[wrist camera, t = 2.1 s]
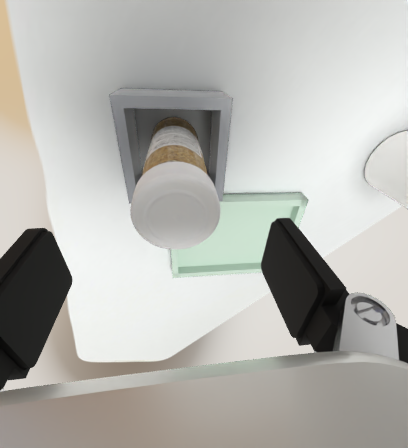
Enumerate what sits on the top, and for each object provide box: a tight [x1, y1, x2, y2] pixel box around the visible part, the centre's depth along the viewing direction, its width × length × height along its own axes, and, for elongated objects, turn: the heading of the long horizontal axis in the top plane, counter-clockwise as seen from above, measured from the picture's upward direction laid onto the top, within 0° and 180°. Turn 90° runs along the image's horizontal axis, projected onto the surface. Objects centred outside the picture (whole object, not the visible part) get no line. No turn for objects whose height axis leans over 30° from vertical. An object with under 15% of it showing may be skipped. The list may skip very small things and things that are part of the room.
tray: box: [171, 193, 308, 278], centre depth 29 cm, size 12×16×2 cm
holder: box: [109, 88, 233, 204], centre depth 20 cm, size 9×9×4 cm
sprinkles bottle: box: [131, 117, 221, 249], centre depth 16 cm, size 5×5×13 cm
